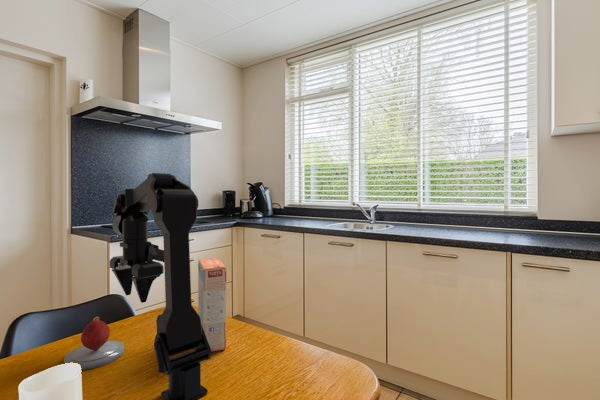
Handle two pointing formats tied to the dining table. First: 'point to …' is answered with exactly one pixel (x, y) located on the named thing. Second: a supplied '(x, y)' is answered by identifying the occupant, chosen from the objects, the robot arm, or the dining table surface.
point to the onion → (95, 334)
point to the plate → (95, 355)
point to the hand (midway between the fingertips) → (135, 298)
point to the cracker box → (212, 301)
